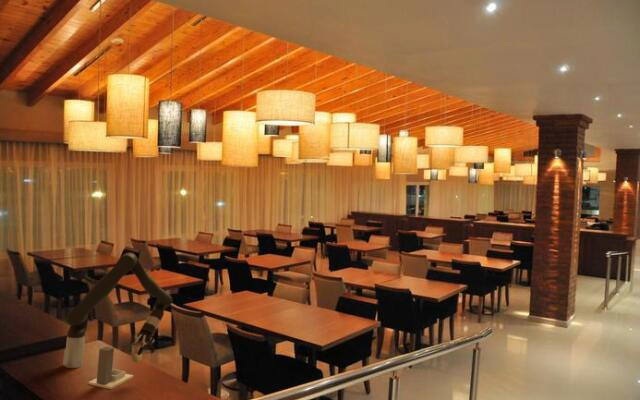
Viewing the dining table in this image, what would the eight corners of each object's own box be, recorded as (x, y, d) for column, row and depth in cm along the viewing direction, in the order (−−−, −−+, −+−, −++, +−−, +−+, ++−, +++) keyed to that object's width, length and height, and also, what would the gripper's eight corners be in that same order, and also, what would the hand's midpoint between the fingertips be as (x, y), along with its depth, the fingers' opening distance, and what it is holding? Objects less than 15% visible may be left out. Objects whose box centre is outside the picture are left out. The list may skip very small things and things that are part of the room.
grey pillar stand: (88, 384, 254) (91, 347, 254) (111, 372, 272) (114, 338, 272) (111, 389, 251) (114, 352, 250) (133, 377, 268) (136, 343, 268)
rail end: (130, 361, 262) (132, 343, 262) (135, 359, 266) (137, 341, 265) (137, 362, 261) (138, 344, 261) (141, 360, 265) (143, 342, 264)
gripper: (137, 320, 272) (120, 347, 260) (159, 324, 268) (143, 352, 257) (141, 327, 277) (126, 354, 266) (163, 331, 273) (148, 359, 262)
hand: (134, 353), depth 261 cm, fingers closed on rail end, 4 cm apart
